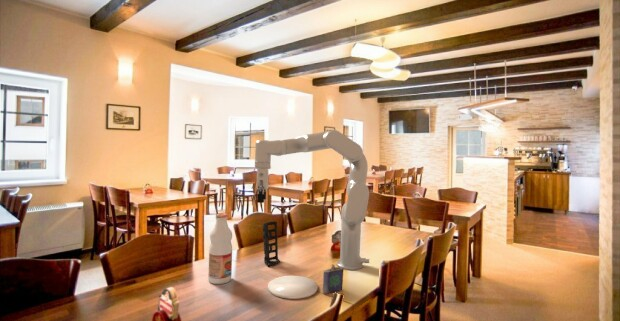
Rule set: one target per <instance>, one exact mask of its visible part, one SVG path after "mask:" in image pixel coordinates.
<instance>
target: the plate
mask: <svg viewBox="0 0 620 321" xmlns="http://www.w3.org/2000/svg"><path fill="white" fill-rule="evenodd" d="M267 290H268V292H269V293H270V294H271V295H273V296H275V297H278V298H282V299H287V300H288V299H289V300H300V299H305V298H308V297H311V296H313V295H315V293H317V291H318V284H317V282H316V281H315V280H313V279H311V278H309V277H305V276H301V275H284V276H279V277H276V278H274V279H272V280H270V281H268V284H267Z"/></svg>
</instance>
